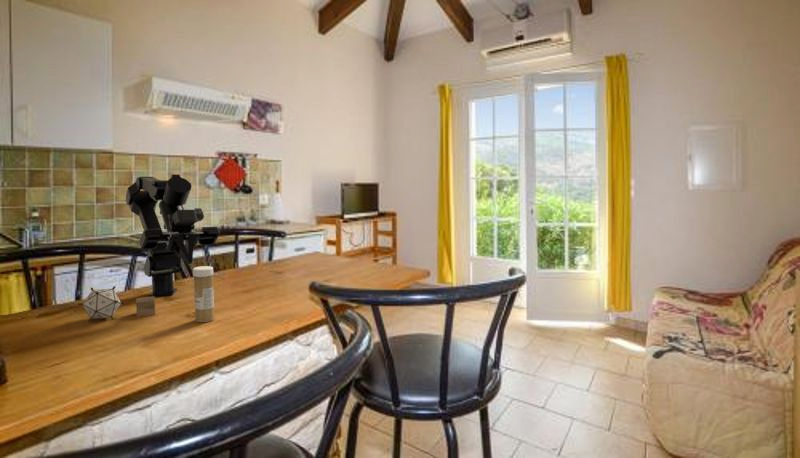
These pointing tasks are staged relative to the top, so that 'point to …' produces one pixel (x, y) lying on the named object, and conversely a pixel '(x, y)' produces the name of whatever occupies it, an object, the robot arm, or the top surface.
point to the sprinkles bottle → (203, 293)
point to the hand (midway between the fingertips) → (190, 263)
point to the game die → (101, 303)
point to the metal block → (145, 306)
